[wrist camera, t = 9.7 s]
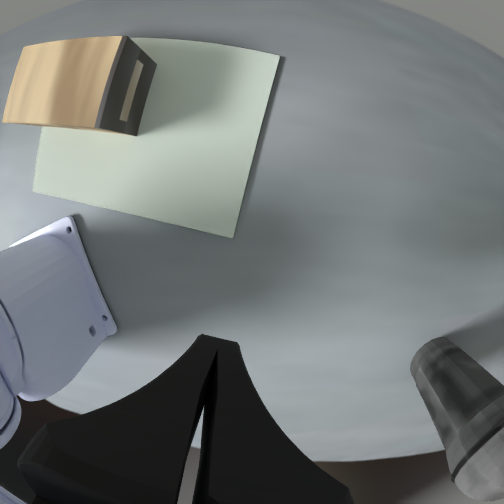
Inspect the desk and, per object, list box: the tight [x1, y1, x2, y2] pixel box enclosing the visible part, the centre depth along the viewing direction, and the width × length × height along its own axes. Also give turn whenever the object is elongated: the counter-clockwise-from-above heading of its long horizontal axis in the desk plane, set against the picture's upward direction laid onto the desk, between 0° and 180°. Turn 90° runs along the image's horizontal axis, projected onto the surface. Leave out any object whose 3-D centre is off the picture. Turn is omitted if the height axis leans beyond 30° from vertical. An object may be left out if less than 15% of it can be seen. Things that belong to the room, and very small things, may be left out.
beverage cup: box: [410, 338, 504, 501], centre depth 12 cm, size 7×7×20 cm
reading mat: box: [33, 38, 280, 239], centre depth 17 cm, size 16×12×1 cm
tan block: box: [2, 36, 157, 136], centre depth 13 cm, size 5×5×8 cm
